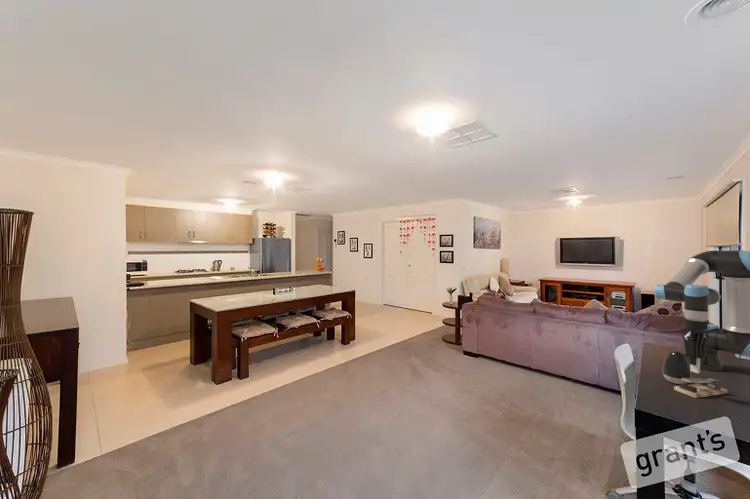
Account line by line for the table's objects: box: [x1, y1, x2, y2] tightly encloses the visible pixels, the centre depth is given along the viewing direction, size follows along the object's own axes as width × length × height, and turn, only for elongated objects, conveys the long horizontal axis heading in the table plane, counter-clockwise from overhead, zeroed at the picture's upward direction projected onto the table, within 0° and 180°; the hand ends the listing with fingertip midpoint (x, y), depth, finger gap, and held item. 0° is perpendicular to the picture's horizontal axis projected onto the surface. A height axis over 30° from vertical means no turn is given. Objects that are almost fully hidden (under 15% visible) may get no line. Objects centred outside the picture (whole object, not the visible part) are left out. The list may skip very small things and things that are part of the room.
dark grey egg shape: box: [661, 350, 692, 385], centre depth 151 cm, size 10×10×15 cm
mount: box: [673, 375, 728, 399], centre depth 141 cm, size 20×8×6 cm, turn 105°
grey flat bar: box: [682, 377, 716, 384], centre depth 141 cm, size 17×3×1 cm, turn 105°
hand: (695, 371), depth 140 cm, fingers closed
